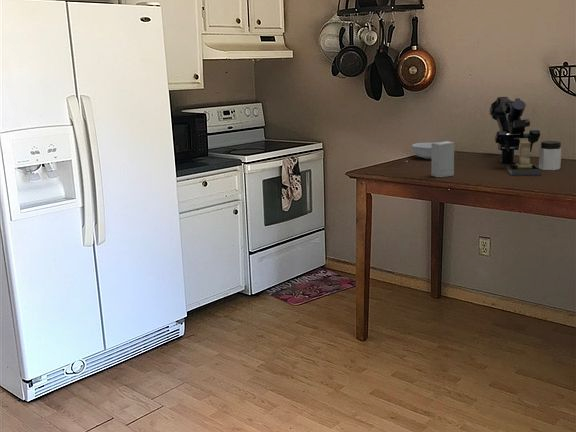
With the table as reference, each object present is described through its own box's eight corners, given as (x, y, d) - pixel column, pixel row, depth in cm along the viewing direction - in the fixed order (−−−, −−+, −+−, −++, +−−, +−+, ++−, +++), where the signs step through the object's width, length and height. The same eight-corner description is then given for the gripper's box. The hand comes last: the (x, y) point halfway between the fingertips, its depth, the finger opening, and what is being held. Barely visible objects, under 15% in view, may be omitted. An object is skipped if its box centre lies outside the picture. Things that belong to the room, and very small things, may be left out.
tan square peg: (518, 171, 281) (519, 141, 278) (526, 171, 281) (528, 141, 277) (520, 172, 277) (522, 142, 274) (528, 172, 277) (530, 142, 274)
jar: (551, 171, 281) (552, 144, 278) (535, 168, 288) (536, 142, 285) (563, 168, 286) (565, 141, 283) (547, 166, 292) (549, 140, 289)
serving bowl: (457, 160, 318) (458, 146, 316) (415, 162, 318) (415, 148, 317) (448, 154, 338) (448, 141, 336) (408, 155, 338) (408, 142, 337)
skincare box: (446, 174, 284) (447, 140, 280) (454, 176, 278) (455, 142, 275) (430, 175, 281) (430, 142, 278) (438, 178, 276) (438, 143, 272)
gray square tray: (506, 170, 286) (507, 161, 285) (534, 170, 284) (535, 161, 283) (511, 175, 274) (512, 166, 273) (541, 175, 272) (541, 166, 271)
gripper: (497, 113, 286) (502, 141, 278) (540, 111, 284) (546, 140, 276) (492, 128, 295) (497, 156, 287) (534, 127, 293) (540, 155, 286)
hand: (520, 151), depth 284 cm, fingers open, 9 cm apart
